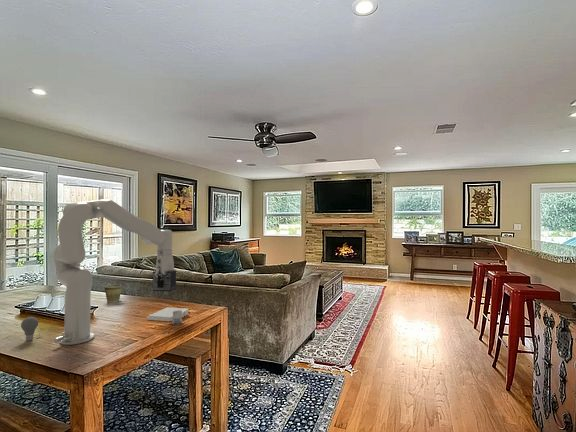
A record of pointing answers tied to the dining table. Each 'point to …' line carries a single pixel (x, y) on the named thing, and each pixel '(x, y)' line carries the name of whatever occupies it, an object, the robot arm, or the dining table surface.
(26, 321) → the light bulb
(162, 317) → the scale
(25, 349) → the dining table surface
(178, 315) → the round metal knob
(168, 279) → the small box
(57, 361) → the dining table surface
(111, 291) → the olive flower pot
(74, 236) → the robot arm
